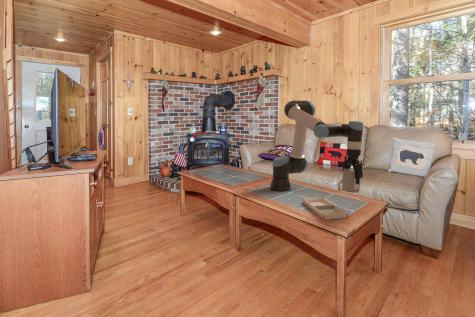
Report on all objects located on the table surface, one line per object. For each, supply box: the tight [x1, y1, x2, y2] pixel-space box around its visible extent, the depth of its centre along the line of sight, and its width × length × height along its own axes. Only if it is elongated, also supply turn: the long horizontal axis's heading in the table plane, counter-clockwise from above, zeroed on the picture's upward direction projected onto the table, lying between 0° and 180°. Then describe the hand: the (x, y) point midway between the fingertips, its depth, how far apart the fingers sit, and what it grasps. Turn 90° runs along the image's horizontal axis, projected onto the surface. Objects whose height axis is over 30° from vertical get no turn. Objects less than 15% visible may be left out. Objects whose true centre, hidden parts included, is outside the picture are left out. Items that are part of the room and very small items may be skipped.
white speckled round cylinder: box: [341, 167, 361, 194], centre depth 155 cm, size 10×10×12 cm
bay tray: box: [302, 197, 349, 220], centre depth 156 cm, size 27×14×2 cm, turn 9°
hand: (350, 186), depth 155 cm, fingers closed on white speckled round cylinder, 9 cm apart
